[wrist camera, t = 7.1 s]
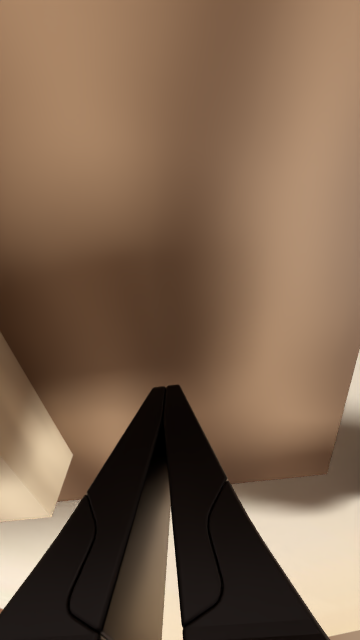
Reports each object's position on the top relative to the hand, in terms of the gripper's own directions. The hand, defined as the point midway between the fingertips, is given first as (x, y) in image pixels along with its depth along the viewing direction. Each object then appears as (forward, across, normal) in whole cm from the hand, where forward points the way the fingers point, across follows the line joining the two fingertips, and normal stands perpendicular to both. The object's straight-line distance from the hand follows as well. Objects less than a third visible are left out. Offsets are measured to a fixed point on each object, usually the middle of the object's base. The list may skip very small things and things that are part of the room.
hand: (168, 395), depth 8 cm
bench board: (+3, +5, 0) cm, 6 cm away
